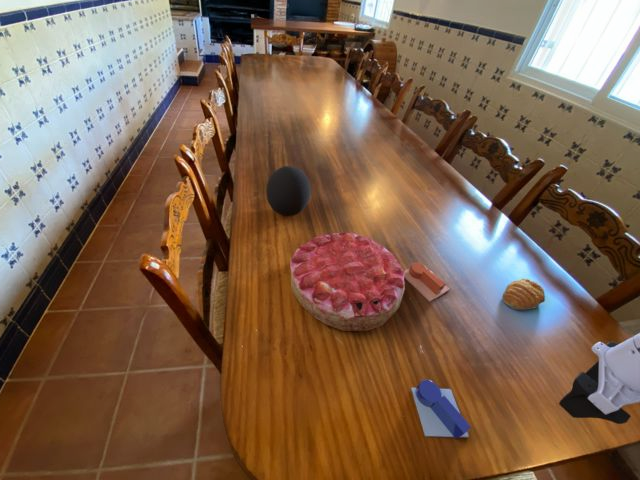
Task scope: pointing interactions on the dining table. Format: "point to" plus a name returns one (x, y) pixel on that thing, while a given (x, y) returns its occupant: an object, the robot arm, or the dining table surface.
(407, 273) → the rose mat
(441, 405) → the blue spoon
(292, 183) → the decorative egg
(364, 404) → the dining table surface
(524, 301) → the pastry
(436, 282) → the terracotta spoon
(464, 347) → the dining table surface
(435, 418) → the blue mat
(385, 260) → the cake
